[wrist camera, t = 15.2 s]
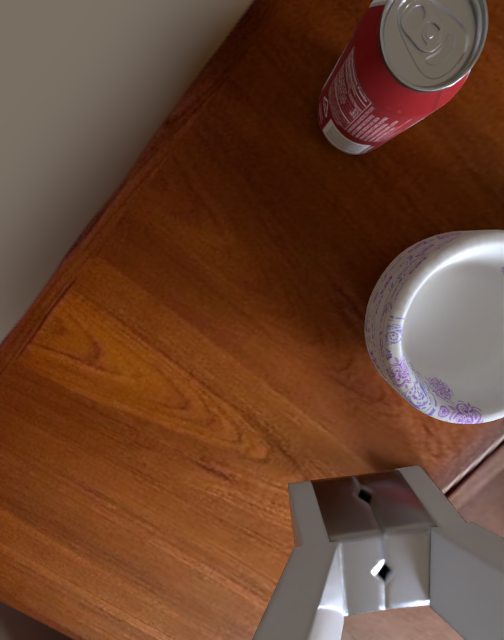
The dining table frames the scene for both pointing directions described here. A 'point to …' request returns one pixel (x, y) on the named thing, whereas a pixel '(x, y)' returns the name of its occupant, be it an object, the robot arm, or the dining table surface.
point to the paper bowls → (443, 326)
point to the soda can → (399, 69)
